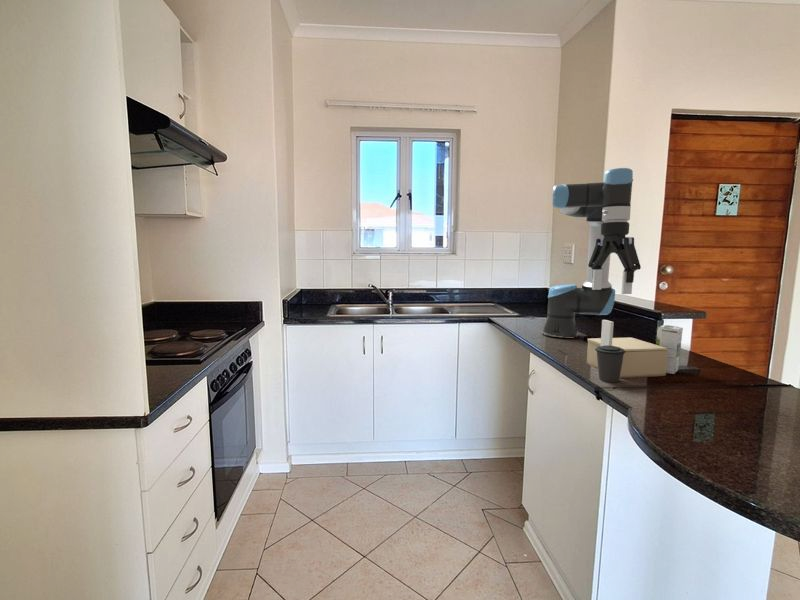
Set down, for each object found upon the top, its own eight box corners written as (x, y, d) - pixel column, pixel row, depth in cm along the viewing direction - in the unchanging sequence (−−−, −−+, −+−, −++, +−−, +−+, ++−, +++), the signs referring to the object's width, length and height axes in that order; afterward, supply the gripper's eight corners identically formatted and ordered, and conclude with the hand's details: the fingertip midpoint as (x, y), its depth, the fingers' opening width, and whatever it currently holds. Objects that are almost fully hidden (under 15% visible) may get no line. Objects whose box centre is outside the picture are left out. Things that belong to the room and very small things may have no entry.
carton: (586, 363, 136) (588, 340, 135) (628, 361, 139) (630, 339, 138) (618, 378, 120) (620, 352, 119) (665, 375, 123) (667, 350, 122)
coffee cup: (631, 382, 116) (632, 349, 114) (606, 385, 114) (607, 351, 113) (611, 373, 124) (612, 342, 122) (588, 376, 122) (589, 344, 121)
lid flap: (584, 341, 135) (586, 315, 134) (630, 340, 137) (632, 314, 136) (615, 353, 120) (617, 323, 119) (666, 351, 122) (669, 322, 121)
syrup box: (657, 367, 132) (661, 324, 130) (679, 371, 128) (683, 326, 126) (653, 370, 128) (656, 326, 126) (675, 374, 124) (679, 329, 122)
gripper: (579, 224, 132) (575, 288, 134) (634, 218, 107) (628, 296, 110) (599, 224, 133) (595, 287, 135) (659, 218, 108) (653, 295, 111)
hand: (610, 291), depth 123 cm, fingers open, 13 cm apart
